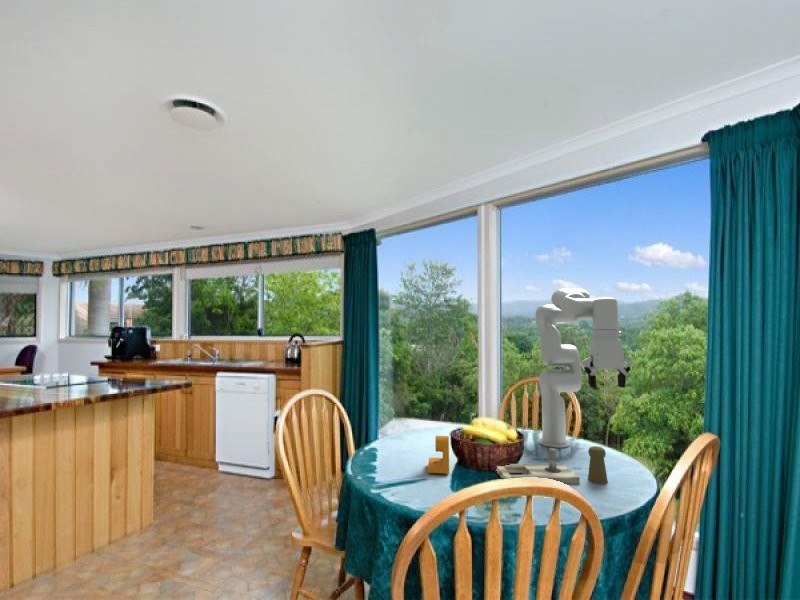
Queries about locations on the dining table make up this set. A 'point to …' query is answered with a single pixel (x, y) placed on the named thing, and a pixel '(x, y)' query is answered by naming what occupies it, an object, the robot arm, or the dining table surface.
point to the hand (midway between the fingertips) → (607, 387)
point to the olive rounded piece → (597, 466)
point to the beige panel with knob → (541, 470)
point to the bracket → (440, 463)
